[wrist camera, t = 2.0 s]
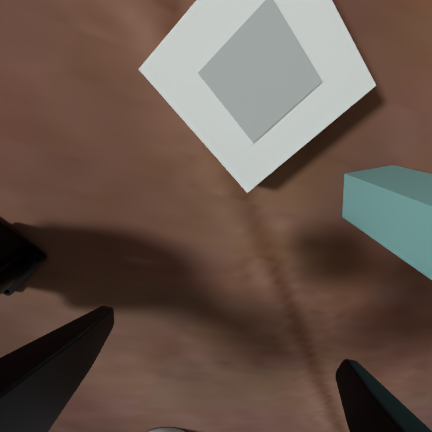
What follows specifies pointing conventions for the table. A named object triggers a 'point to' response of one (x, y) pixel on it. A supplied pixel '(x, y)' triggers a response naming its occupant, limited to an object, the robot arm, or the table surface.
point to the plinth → (258, 78)
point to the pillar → (393, 211)
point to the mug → (166, 430)
